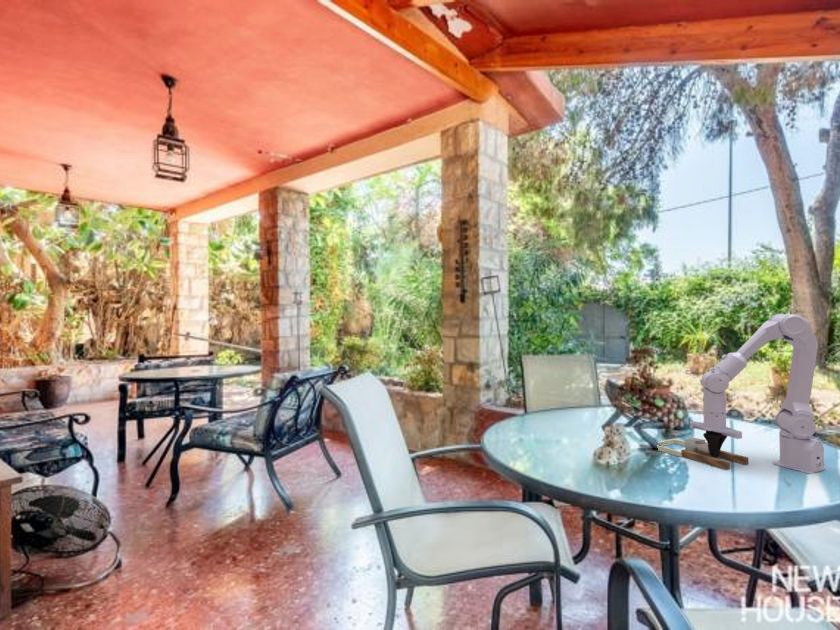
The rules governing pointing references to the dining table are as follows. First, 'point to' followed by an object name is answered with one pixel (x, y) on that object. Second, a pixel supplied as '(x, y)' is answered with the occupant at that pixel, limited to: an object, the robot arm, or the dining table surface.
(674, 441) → the beige open frame
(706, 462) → the slot rails
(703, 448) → the grey brown cube
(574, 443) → the dining table surface
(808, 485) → the dining table surface
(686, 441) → the greyish beige cube
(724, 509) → the dining table surface
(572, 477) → the dining table surface
